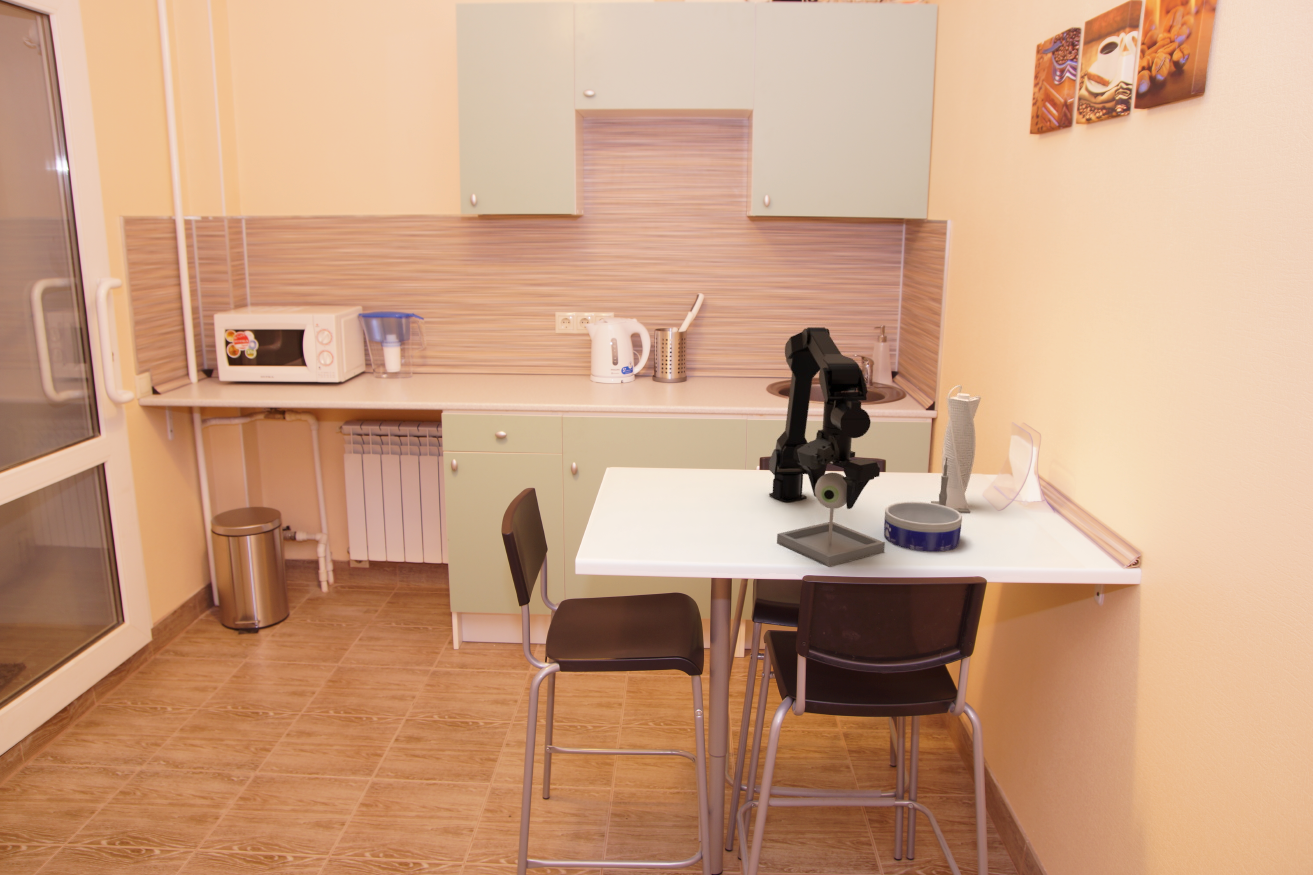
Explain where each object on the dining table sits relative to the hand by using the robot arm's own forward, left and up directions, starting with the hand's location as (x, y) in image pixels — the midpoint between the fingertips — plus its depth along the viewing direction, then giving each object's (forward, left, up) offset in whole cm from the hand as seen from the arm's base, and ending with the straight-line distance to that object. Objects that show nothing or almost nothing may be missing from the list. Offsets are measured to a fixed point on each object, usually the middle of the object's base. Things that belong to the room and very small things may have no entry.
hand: (832, 502), depth 181 cm
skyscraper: (-43, -5, -10) cm, 44 cm away
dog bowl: (-20, +6, -10) cm, 23 cm away
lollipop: (0, 0, -9) cm, 9 cm away
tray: (0, 0, -10) cm, 10 cm away
